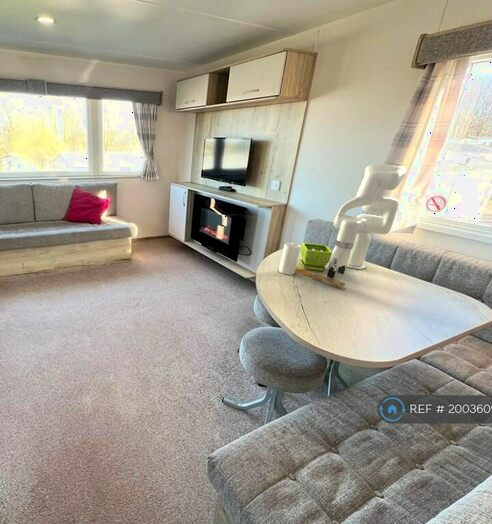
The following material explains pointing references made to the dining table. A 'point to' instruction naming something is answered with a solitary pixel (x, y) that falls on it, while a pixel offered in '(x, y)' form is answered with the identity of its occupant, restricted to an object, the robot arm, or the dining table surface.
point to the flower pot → (315, 256)
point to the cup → (289, 258)
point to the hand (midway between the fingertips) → (335, 275)
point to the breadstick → (303, 271)
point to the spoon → (330, 280)
